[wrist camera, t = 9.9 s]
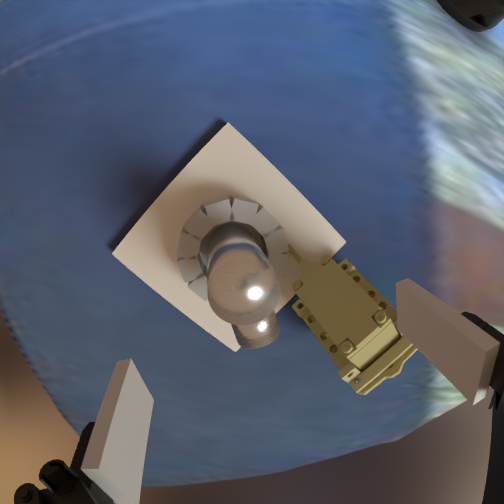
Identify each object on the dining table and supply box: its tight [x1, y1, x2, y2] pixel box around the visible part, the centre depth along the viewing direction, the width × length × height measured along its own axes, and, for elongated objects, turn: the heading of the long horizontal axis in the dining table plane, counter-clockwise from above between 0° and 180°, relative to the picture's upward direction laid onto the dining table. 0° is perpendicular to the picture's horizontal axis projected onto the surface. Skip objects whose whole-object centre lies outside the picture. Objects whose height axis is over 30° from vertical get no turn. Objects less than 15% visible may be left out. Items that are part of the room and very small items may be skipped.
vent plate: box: [112, 123, 346, 352], centre depth 32 cm, size 18×18×4 cm
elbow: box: [207, 223, 281, 349], centre depth 28 cm, size 8×5×12 cm, turn 16°
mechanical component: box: [288, 244, 418, 395], centre depth 33 cm, size 8×17×20 cm, turn 41°
